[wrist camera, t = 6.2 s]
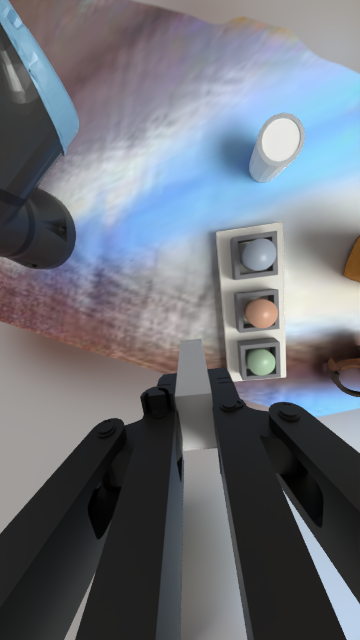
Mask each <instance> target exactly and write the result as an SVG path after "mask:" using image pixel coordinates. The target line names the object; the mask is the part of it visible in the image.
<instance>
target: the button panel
mask: <svg viewBox="0 0 360 640" xmlns="http://www.w3.org/2000/svg"><path fill="white" fill-rule="evenodd" d="M215 235H216V246H217V258H218V269H219V281H220V293H221V304H222V316H223V328H224V339H225V351H226V363H227V371H229V373H230V376H231V378H232V380H233V381H246V380H258V379H270V378H282V377H286V348H285V297H284V246H283V222H279V223H272V224H266V225H259V226H252V227H246V228H239V229H232V230H226V231H219V232H216V234H215ZM260 238H264V239H268V240H270V241H271V242H272V243H273V244H274V246H275V248H276V258H275V261H274V262H273V264H272V265H271V266H270V267H268V268H267V269H264V270H259V271H251V270H248V269H246V268H245V267H244V266H243V264H242V262H241V252H242V250H243V249H244V247H245V246H246V245H247V244H249V243H251V242H252V241H254V240H256V239H260ZM256 298H261V299H265V300H268V301H271V302H272V303H274V304H275V306H276V307H277V310H278V317H277V319H276V321H275V322H274V324H273V325H271V326H270V327H267V328H257V327H255V326H253V325H252V324H251V323H250V322H248V321H247V319H246V318H245V315H244V309H245V306H246V305H247V303H248V302H249V301H251V300H253V299H256ZM254 348H266V349H267V350H268V351H269V352H270V353H271V354H272V355H273V356H274V358H275V362H276V364H275V367H274V369H273V371H272V372H270V373H269V374H267V375H256V374H254V373H253V372H252V371H251V370H250V368H249V366H248V365H247V363H246V359H245V354H246V352H247V351H248V350H249V349H254Z"/></svg>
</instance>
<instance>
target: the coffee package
mask: <svg viewBox="0 0 360 640" xmlns="http://www.w3.org/2000/svg"><path fill="white" fill-rule="evenodd" d="M344 276H345V277H347V278H349V279H352V280H355V281H358V282H360V236H359V237H358V239H357V241H356V243H355V245H354V247H353V249H352V251H351V254H350V256H349V259H348V261H347V263H346V266H345V272H344Z"/></svg>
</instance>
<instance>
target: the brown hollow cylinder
mask: <svg viewBox="0 0 360 640" xmlns="http://www.w3.org/2000/svg"><path fill="white" fill-rule="evenodd" d="M356 348H357V349H358V350H359V351H360V346H357V347H356ZM350 368H360V358H357V359H349V360H344V361H340V362H338V363H336V362H335V361H334V359H333V358H332V357H331V358H330V359H329V360H328V372H329V375H330V378H331V379H332V381H333V382H334V383H335V384H336V385H337V387H338V388H340V390H342V391H343V392H345V393H346V394H349V395H351V396H355V397H360V392H359V391H353V390H350V389H348V388H346V387H344V386H343V385H342V384H341V383H340V381H339V375H340V374H339V373H338V372H337V371H338V370H339V369H341V370H343V371H344V370H347V369H350Z"/></svg>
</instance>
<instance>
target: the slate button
mask: <svg viewBox="0 0 360 640" xmlns="http://www.w3.org/2000/svg"><path fill="white" fill-rule="evenodd" d="M275 258H276V248H275V246H274V244H273V243H272V242H271V241H270V240H268V239H264V238H260V239H256V240H254V241H252V242H251V243H249V244H247V245H246V246H245V247H244V249H243V250H242V252H241V262H242V264H243V266H244V267H245V268H246V269H248V270H251V271H259V270H264V269H267V268H268V267H270V266H271V265H272V264H273V262H274V261H275Z"/></svg>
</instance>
